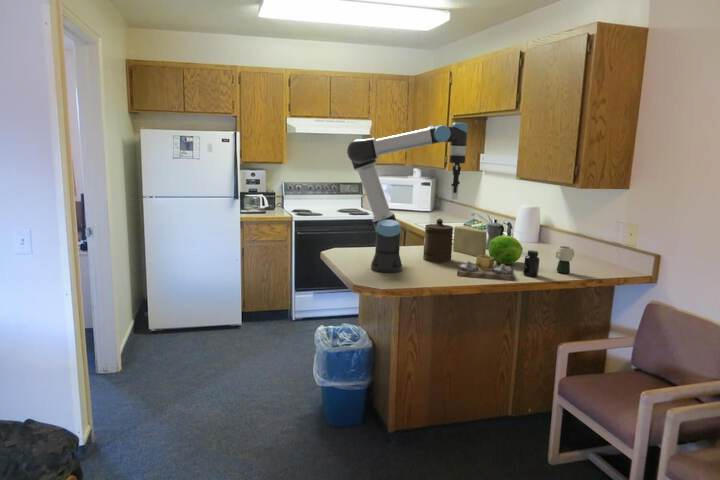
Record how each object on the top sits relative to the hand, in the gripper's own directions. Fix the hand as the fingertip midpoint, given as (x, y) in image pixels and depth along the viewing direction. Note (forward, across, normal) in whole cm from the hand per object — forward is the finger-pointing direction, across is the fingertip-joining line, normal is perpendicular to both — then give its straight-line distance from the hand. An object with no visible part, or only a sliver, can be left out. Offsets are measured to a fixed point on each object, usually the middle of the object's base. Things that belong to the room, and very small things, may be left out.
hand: (454, 198), depth 256 cm
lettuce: (+35, +16, -29) cm, 48 cm away
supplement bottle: (+35, -6, -39) cm, 53 cm away
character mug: (+35, +5, -56) cm, 66 cm away
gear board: (+35, -9, -17) cm, 40 cm away
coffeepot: (+35, +51, -25) cm, 67 cm away
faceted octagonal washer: (+32, -6, -17) cm, 37 cm away
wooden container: (+35, +12, +7) cm, 38 cm away
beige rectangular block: (+35, +33, -11) cm, 49 cm away
